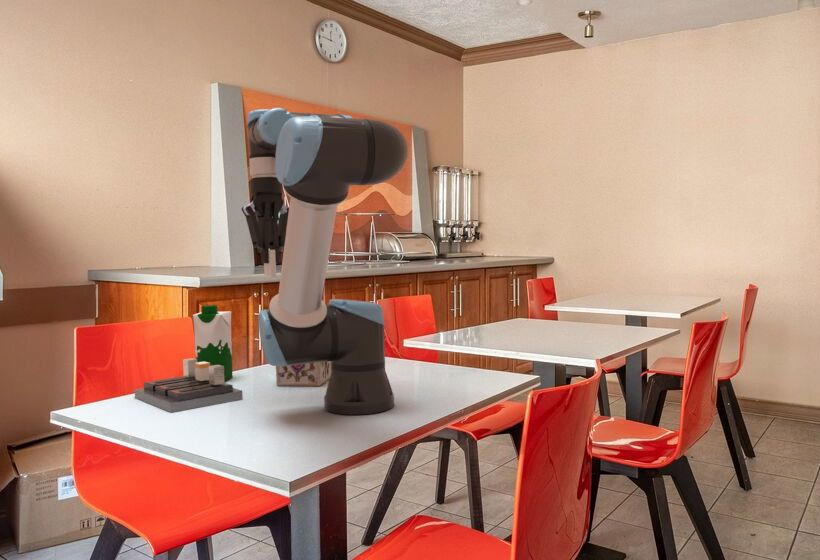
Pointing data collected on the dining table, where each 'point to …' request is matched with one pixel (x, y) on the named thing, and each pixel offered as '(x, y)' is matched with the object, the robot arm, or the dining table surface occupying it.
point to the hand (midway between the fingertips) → (270, 277)
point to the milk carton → (214, 338)
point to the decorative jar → (303, 374)
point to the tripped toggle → (202, 371)
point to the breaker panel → (189, 390)
